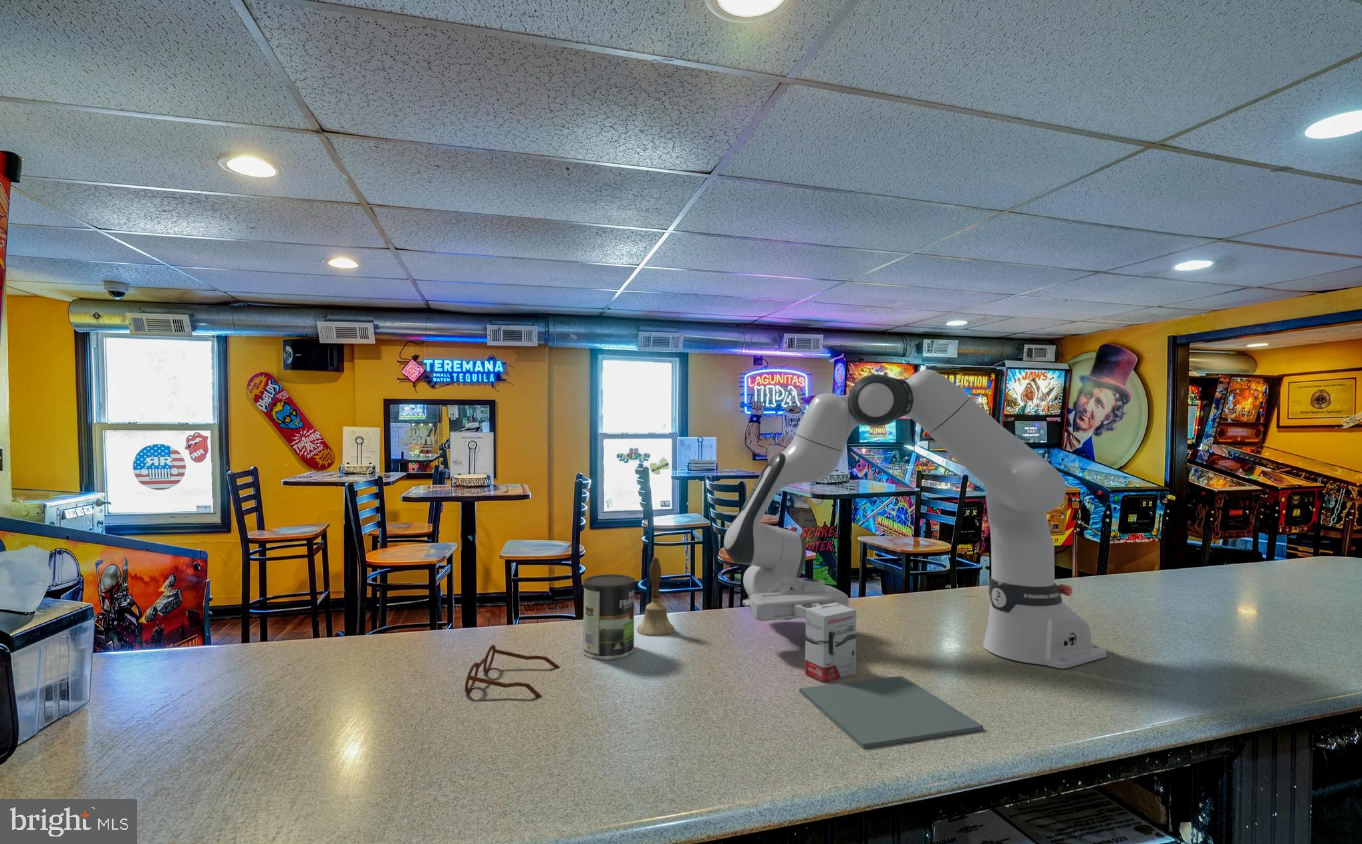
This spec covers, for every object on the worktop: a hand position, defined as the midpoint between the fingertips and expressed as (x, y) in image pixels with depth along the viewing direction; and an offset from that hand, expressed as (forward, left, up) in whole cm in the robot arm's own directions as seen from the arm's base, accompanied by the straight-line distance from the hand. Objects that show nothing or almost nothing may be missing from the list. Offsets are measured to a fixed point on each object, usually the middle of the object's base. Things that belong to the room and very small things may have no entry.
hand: (816, 615), depth 114 cm
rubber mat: (-1, +20, -9) cm, 22 cm away
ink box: (0, +5, -9) cm, 11 cm away
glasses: (+55, -6, -10) cm, 56 cm away
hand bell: (+25, -27, -9) cm, 38 cm away
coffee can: (+37, -17, -9) cm, 42 cm away
